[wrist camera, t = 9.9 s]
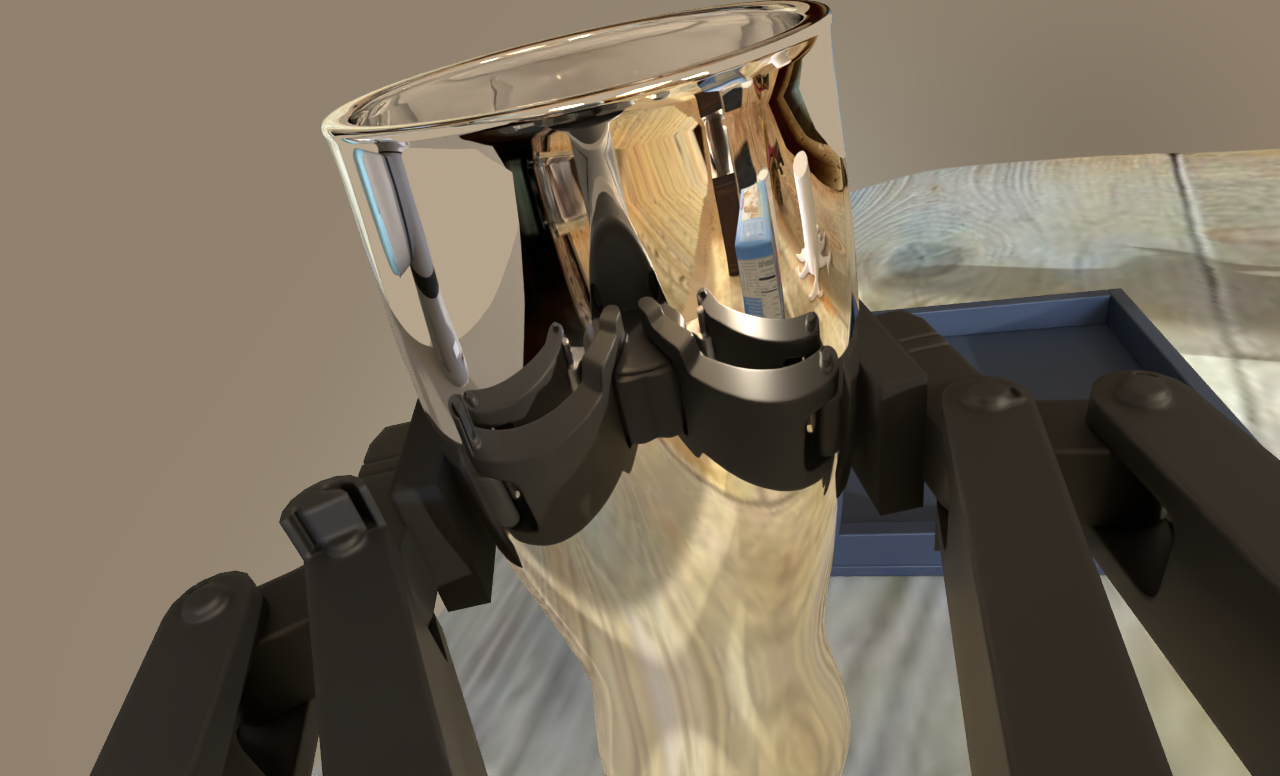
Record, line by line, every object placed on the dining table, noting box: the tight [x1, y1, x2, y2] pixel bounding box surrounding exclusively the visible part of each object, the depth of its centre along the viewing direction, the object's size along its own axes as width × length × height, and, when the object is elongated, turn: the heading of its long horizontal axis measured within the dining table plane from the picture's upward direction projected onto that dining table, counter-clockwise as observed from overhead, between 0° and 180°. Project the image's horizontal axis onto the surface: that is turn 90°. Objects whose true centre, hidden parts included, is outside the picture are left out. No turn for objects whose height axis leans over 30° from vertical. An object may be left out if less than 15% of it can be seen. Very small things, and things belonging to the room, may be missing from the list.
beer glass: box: [321, 0, 860, 776], centre depth 13 cm, size 7×7×15 cm
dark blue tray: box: [830, 289, 1261, 576], centre depth 28 cm, size 17×15×2 cm
